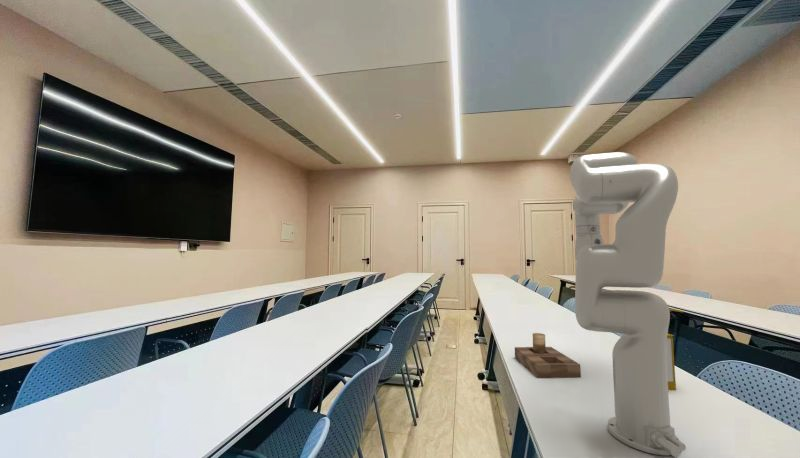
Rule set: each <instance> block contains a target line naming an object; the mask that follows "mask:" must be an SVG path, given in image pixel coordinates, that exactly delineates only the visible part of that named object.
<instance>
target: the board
mask: <svg viewBox="0 0 800 458" xmlns="http://www.w3.org/2000/svg"><path fill="white" fill-rule="evenodd" d="M514 359H516V360H517V361H518V362H519V363H520V364H521V365H522V366H523V367H524V368H526V370H528V371H529V372H530V373H532V374H533V376H535V377H536V378H537V379H553V378H554V379H561V378H562V379H565V378H566V379H567V378H575V379H576V378H581V376H582V374H581V371H582V369H581V364H580V363H579V362H577V361H575V360H573V359H572V358H570V357H569V356H567V355H565V354H564V353H563V352H560V351H559V350H557V349H555V348H554V347H552V346H546V353H542V354H535V353H534V351H533V346H515V347H514Z"/></svg>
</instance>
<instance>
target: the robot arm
mask: <svg viewBox="0 0 800 458" xmlns="http://www.w3.org/2000/svg"><path fill="white" fill-rule="evenodd" d="M569 179H570V183H571V186H572V187H573V189H574V192H576V195H575V196H574V198H573V200H572V209H573V211H574V225H575V243H574V246H575V247H574V251H575V253H574V254H575V255H574V256H575V286H574V287H575V289H574V290H575V291H574V292H575V293H574V294H575V295H574V296H575V298H574V309H575V310H574V311H575V318H576V321H577V323H578V324H577V325H579V326H580V327H581V328H582V329H584V330H587V331H590V332H591V331H593V332H599V333H610V334H611V333H612V334H621V337H619V339H617V341H616V342H615V344H614V345H613V349H612V355H611V356H612V374H613V375H612V376H613V377H612V379H613V397H614V398H613V399H614V416H613V417H611V418H609V419H608V420H607V422H606V423H607V430H608V431H609V433H610V434H611V435H612V436H613V437H614V438H615V439H617V440H618V441H620V442H621V443H623V444H625V445H627V446H630V447H631V448H634V449H635V450H638V451H642V452H644V453H648V454H651V455H658V456H673V457H675V458H677V457H679V456H680V454H681V452H682V451H685V450H686V444H685V443H683V442H682V441H681V440H680V438H679V437H678V436H677V435H676V434H675V433H676V431H675V427H673V426H671V416H670V400H669V390H668V379H667V359H666V342H667V333H668V334H669V326H670V321H671V320H670V319H671V314H670V312H671V310H669V309H670V307H669V305H668V303H667V302H666V301H665V299H663V298H662V296H659V295H658V294H655V293H652V292H650V291H643V290H625V289H615V290H614V289H604V288H632V289H633V288H636V289H639V288H653V287H655V286H657V285H659V284H660V282H661V280H662V277H663V275H664V266H665V265H664V264H665V253H666V252H665V250H666V235H667V234H666V233H667V231H666V230H667V226H668V225H667V224H668V221H669V218H670V215H671V213H672V211H673V209H674V206H675V204H676V201H677V197H678V192H679V181H678V177H677V174H676V172H675V170H674V169H673V168H672V167H670V166H668V165H666V164H663V163H662V164H661V163H638V159H636V157H635V156H634V155H633V154H631V153H628V152H623V151H613V152H603V153H593V154H591V153H590V154H583V155H580V156H578V157H577V158H575V159H574V161H573V163H572V164H571V167H570V172H569ZM629 203H632V204H631V205H630V206H628V205H629ZM621 212H623V213H622V214H621V215H620V216H619V217H618V219H617V220H616V222H615V226H614V227H615V230H614V231H615V234H614V235H615V237H614V242H613V243H611V244H608V243H607V244H606V243H605V244H604V238H603V235H602V234H601V221H600V220H601V218H600V217H601V215H603V216H604V215H615V214H616V215H617V214H619V213H621Z"/></svg>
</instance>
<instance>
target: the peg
mask: <svg viewBox="0 0 800 458" xmlns="http://www.w3.org/2000/svg"><path fill="white" fill-rule="evenodd" d="M532 347H533V351H534V353H535V354H542V353H546V347H547V345H546V334H544V333H542V332H541V333H540V332H534V333H532Z"/></svg>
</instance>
